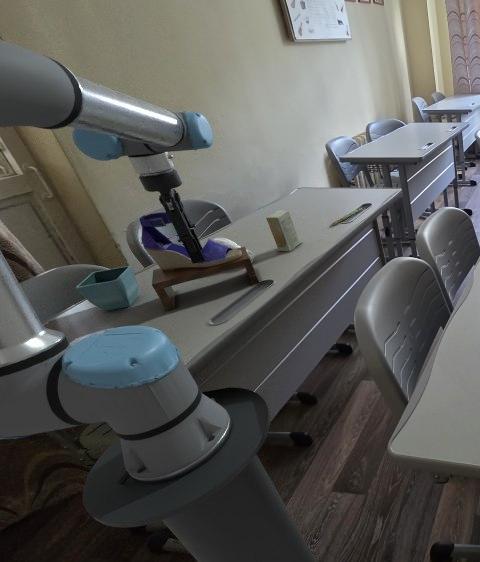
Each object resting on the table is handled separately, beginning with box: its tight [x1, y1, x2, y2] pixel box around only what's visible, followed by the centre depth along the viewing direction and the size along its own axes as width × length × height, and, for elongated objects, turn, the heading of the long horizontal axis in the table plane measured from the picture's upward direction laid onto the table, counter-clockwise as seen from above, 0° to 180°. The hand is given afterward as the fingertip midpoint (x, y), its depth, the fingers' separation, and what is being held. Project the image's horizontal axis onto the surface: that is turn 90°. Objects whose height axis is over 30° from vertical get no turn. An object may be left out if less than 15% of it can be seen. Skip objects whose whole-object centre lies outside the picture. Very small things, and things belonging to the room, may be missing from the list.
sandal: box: [139, 211, 242, 271], centre depth 105 cm, size 8×20×15 cm, turn 103°
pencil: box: [329, 207, 363, 227], centre depth 155 cm, size 1×1×18 cm
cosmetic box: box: [265, 209, 301, 252], centre depth 131 cm, size 6×4×12 cm
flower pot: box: [75, 265, 139, 312], centre depth 105 cm, size 9×9×9 cm
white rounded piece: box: [211, 237, 255, 264], centre depth 124 cm, size 6×8×12 cm
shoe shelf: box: [151, 246, 260, 311], centre depth 111 cm, size 22×10×8 cm, turn 126°
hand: (198, 256), depth 108 cm, fingers closed on sandal, 7 cm apart
